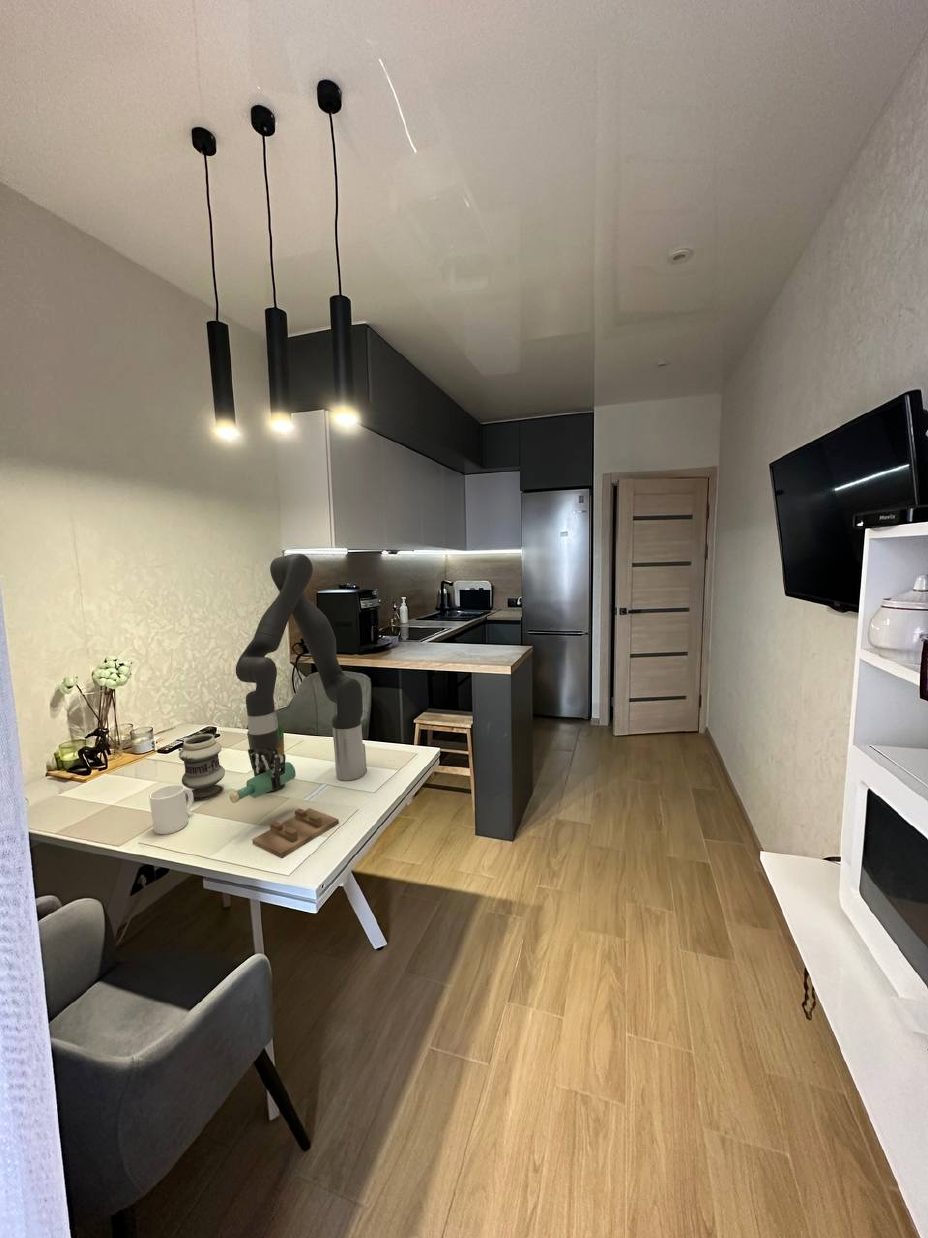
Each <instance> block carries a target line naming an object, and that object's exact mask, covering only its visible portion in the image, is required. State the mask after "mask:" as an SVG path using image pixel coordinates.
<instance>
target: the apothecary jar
mask: <svg viewBox="0 0 928 1238" xmlns="http://www.w3.org/2000/svg"><path fill="white" fill-rule="evenodd" d="M222 748H223V747H222V744H221V743H220V742H219V741H218V740H216V739H215V735H214V734H212V733H203V734H198V735H193V736H190V737H187V738H186V739H185V740H184V741H183V746H182V748H181V749H180V750H179V751H178V758H179V760H181V761H182V762H183V764H184V773H183V775H182V777H181V785H182V786H184V788H185V787H186V788H189V789H191V791H192V793H193V802H194V801H195V802H196V801H199V800H200V801H205V800H209V799H212V798H214V797H216V796H219V795H220V794H221V793H223V790H224V789H223V786H221V785H219V784H218V783H220V782H221V781H222V779H223V778H224V776H225V775H226V770H225V768H224V766H222V765H221V763H220V758H219V754H220V753H221V751H222Z"/></svg>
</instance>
